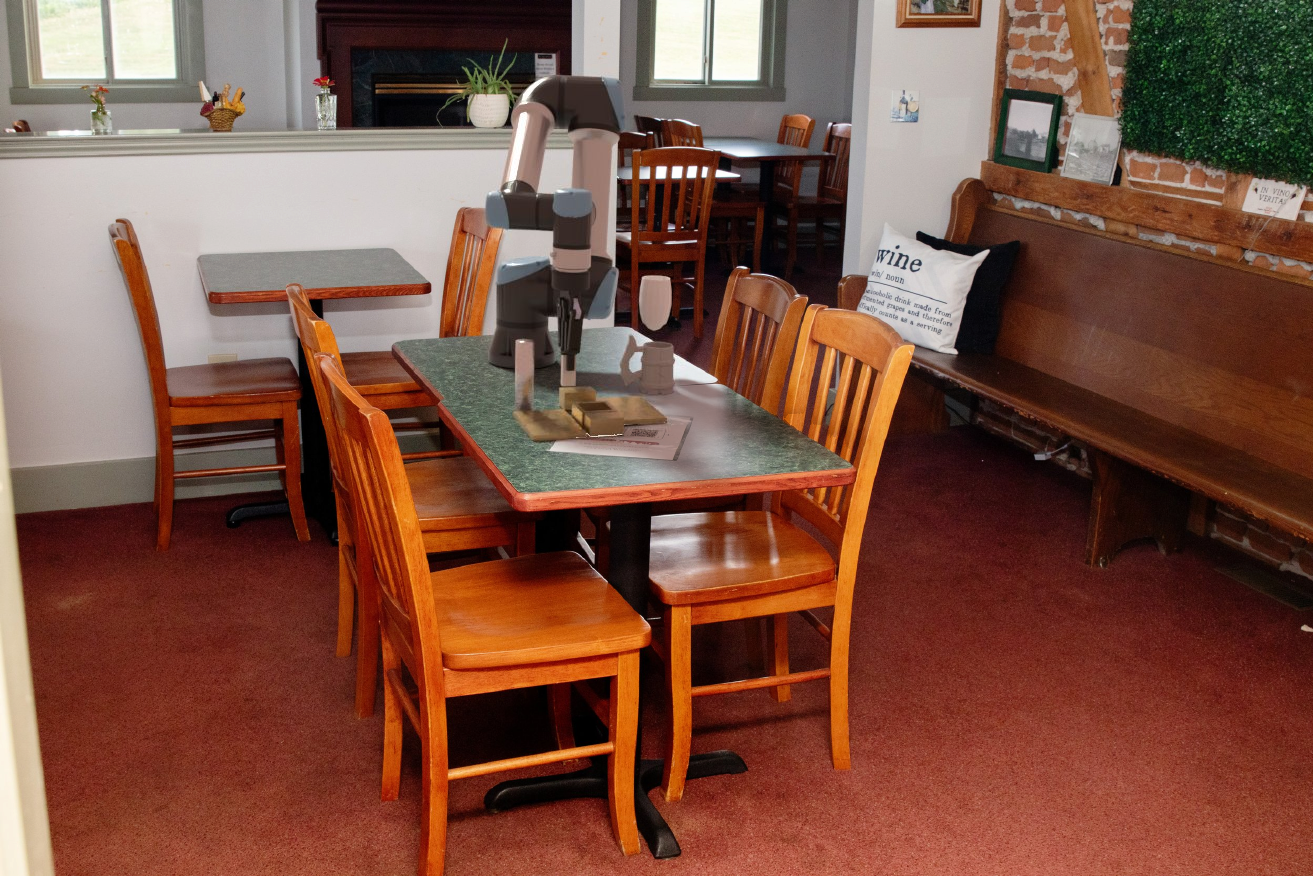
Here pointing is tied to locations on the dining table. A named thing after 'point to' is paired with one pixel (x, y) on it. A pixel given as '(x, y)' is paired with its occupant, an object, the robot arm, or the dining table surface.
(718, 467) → the dining table surface
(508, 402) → the dining table surface
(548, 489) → the dining table surface
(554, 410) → the fixed leaf
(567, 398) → the hinge flap with knuckles
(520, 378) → the pin
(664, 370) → the mug
